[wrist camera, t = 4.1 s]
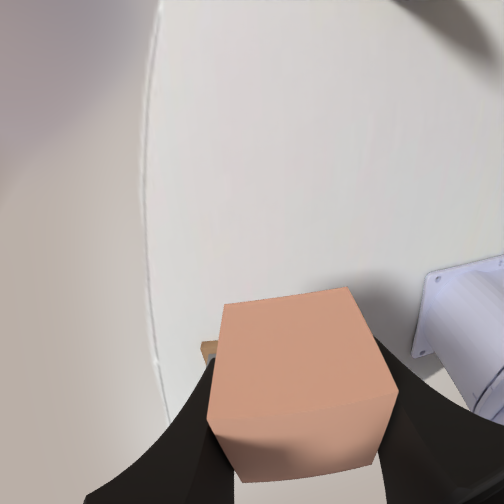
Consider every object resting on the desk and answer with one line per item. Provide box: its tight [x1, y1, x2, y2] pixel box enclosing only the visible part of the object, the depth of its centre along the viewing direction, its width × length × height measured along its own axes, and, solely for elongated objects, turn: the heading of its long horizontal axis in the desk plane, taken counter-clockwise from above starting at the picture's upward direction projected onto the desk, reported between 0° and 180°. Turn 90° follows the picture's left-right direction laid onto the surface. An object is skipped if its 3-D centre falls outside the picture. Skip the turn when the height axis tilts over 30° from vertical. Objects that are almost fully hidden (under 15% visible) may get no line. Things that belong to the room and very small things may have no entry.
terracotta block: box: [207, 287, 399, 483], centre depth 9 cm, size 4×4×5 cm
